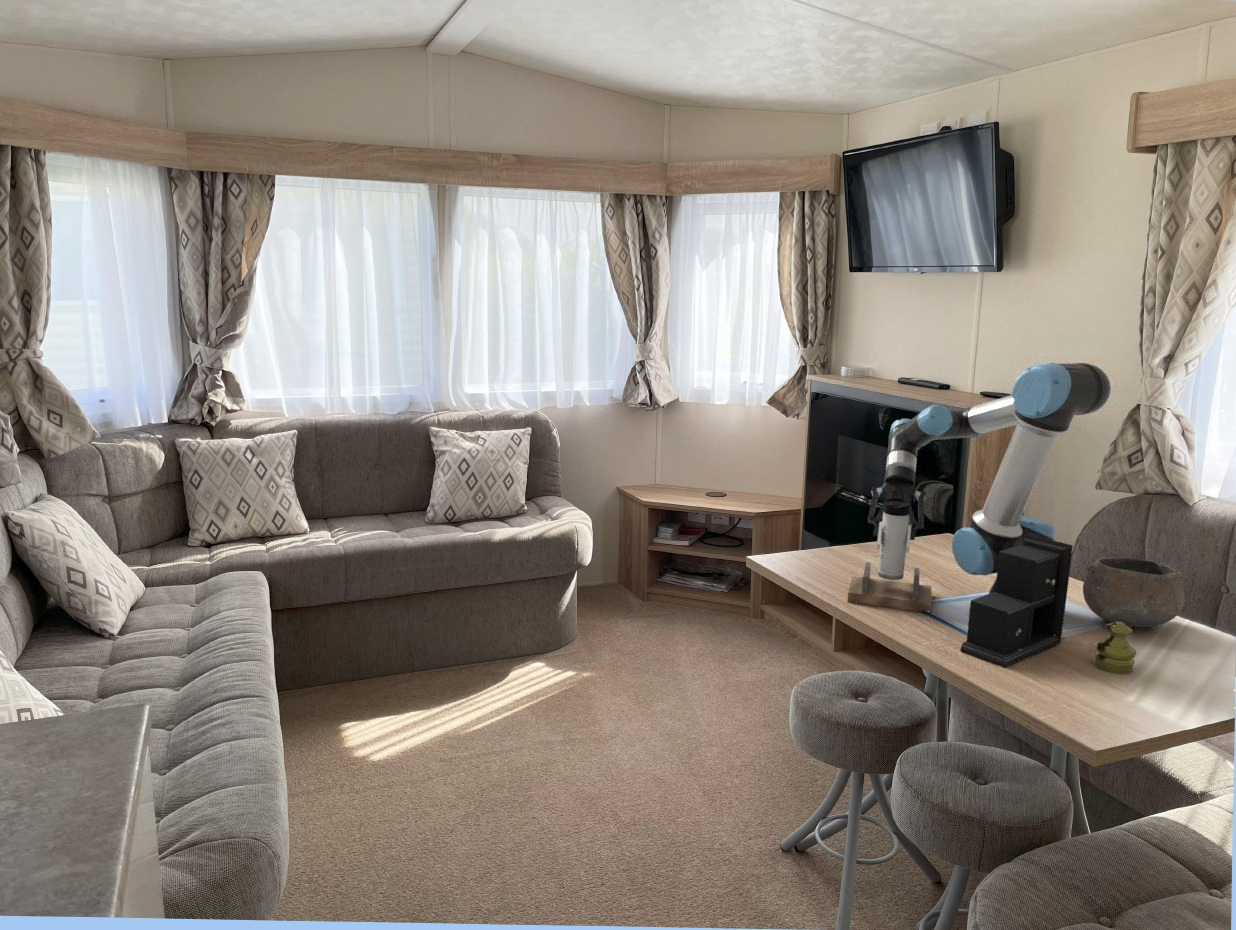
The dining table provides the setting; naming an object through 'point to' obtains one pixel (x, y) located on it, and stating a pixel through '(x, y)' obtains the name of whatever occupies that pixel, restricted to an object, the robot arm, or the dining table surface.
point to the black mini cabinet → (1021, 603)
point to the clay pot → (1133, 591)
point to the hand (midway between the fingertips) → (892, 548)
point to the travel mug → (893, 539)
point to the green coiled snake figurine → (1116, 650)
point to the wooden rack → (890, 592)
